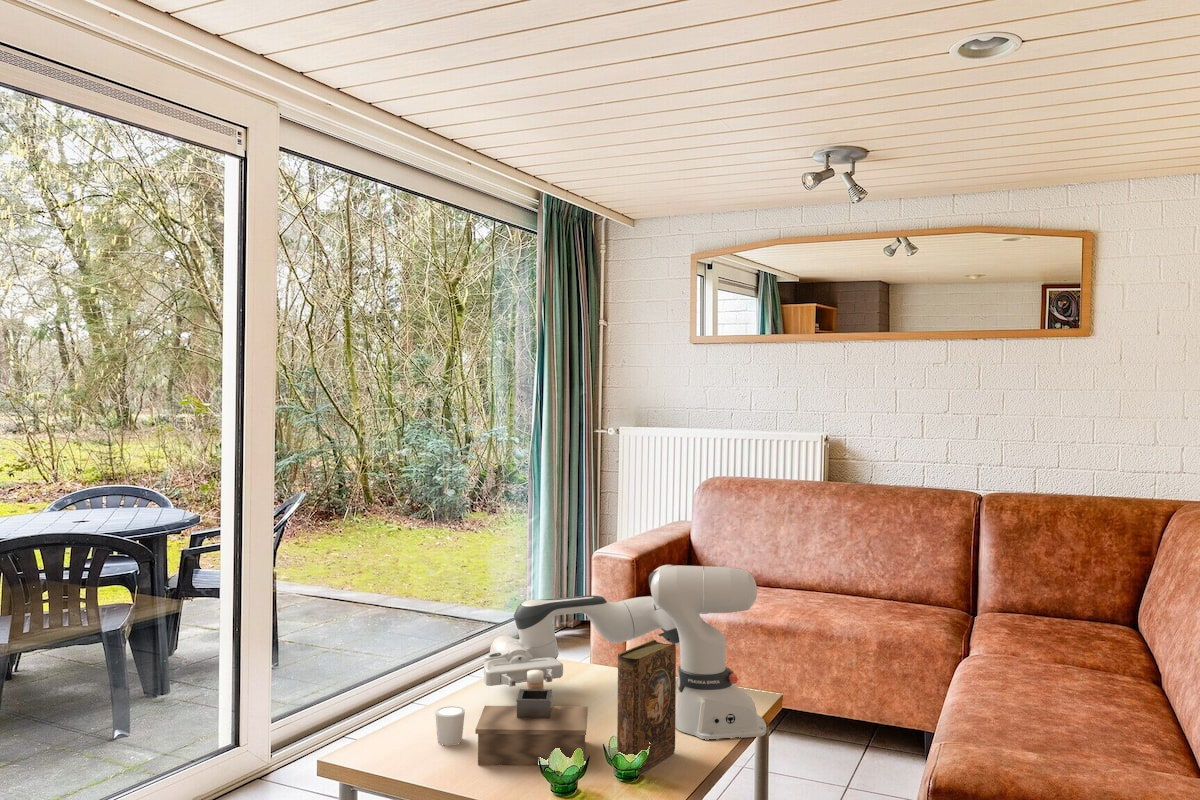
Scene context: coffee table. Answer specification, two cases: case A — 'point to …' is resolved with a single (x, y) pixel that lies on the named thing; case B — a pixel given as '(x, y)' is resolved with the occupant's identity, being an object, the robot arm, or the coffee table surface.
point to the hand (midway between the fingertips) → (531, 681)
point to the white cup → (449, 724)
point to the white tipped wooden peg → (535, 679)
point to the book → (647, 701)
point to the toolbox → (529, 730)
